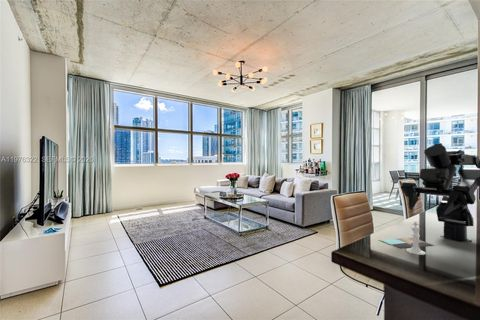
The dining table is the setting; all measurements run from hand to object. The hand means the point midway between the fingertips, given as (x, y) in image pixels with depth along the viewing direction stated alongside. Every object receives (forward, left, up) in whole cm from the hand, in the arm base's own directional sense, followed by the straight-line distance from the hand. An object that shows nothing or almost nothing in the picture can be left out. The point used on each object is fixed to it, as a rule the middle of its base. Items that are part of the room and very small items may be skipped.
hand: (425, 211), depth 73 cm
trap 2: (-2, -3, -12) cm, 12 cm away
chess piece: (+7, +2, -13) cm, 14 cm away
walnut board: (+2, -5, -13) cm, 14 cm away
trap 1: (+6, -3, -12) cm, 14 cm away
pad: (+6, -7, -12) cm, 15 cm away
